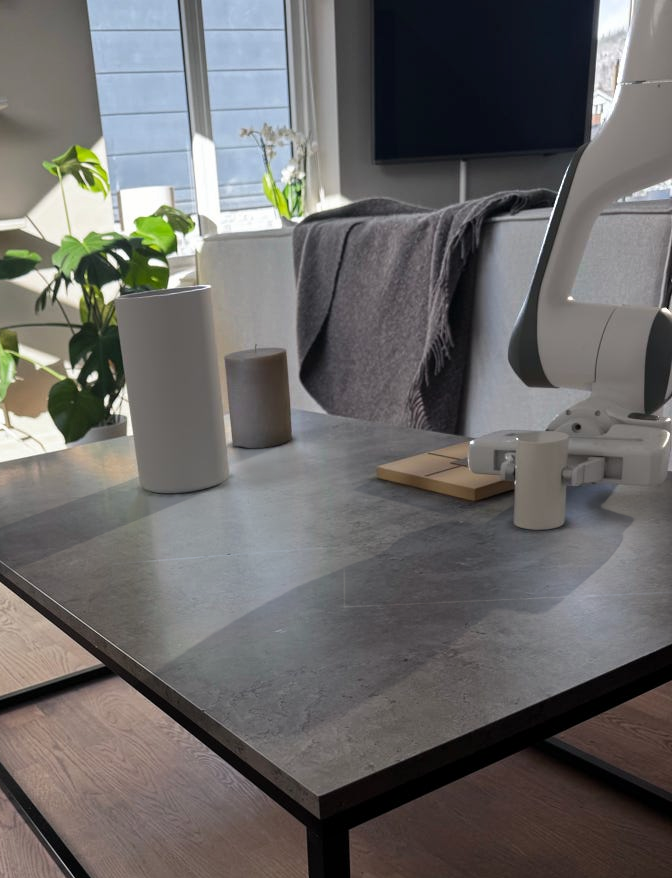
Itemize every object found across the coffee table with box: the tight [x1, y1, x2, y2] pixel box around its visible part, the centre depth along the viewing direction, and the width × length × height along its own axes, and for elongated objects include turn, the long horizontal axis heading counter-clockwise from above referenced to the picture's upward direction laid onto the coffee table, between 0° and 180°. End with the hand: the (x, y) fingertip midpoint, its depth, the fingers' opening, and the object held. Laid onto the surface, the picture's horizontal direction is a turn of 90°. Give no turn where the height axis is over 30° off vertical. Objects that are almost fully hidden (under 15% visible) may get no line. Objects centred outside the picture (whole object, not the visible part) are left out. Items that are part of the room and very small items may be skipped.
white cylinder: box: [513, 430, 569, 531], centre depth 94 cm, size 5×5×9 cm
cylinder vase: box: [113, 285, 230, 494], centre depth 122 cm, size 12×12×25 cm
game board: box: [375, 439, 515, 502], centre depth 115 cm, size 17×17×2 cm
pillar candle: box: [223, 343, 293, 449], centre depth 142 cm, size 10×10×15 cm
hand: (537, 475), depth 93 cm, fingers closed on white cylinder, 5 cm apart
